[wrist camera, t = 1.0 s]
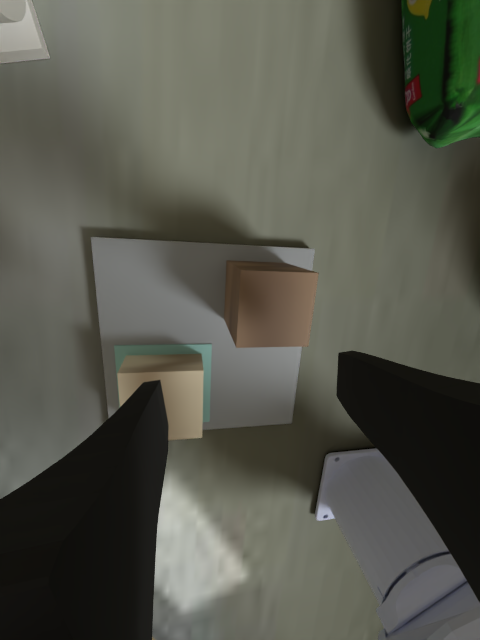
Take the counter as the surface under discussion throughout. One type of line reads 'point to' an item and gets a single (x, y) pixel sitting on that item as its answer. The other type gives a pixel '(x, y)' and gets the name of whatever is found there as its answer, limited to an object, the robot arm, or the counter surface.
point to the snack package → (442, 68)
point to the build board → (192, 324)
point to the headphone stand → (20, 32)
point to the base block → (169, 388)
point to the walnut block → (269, 304)
